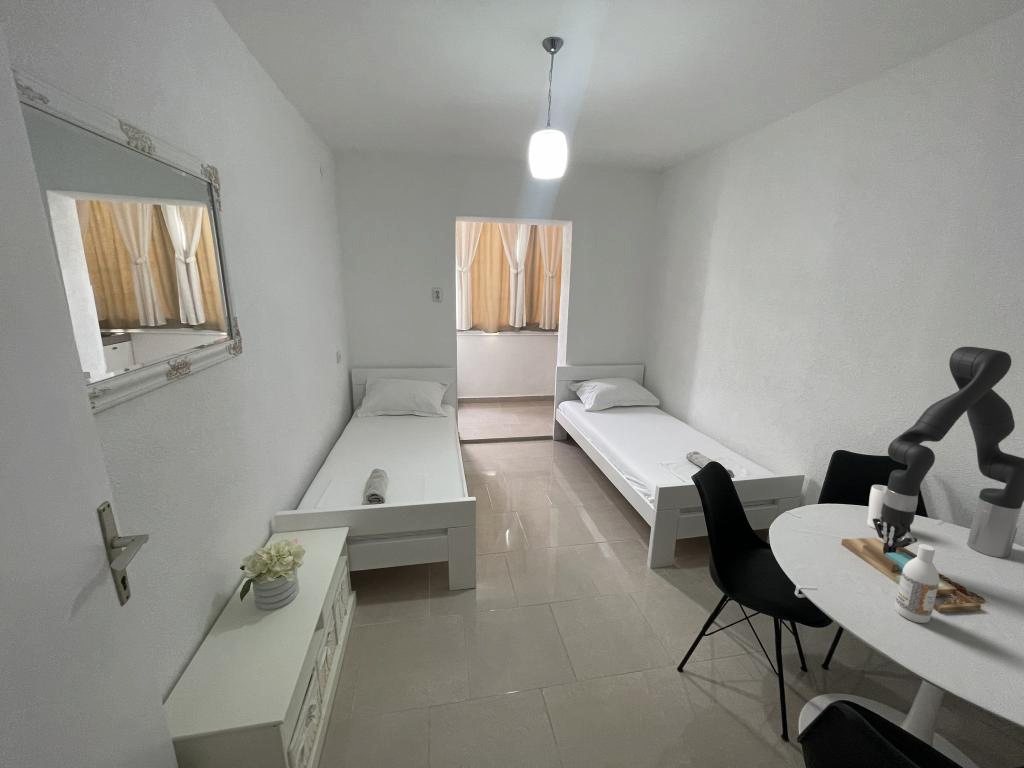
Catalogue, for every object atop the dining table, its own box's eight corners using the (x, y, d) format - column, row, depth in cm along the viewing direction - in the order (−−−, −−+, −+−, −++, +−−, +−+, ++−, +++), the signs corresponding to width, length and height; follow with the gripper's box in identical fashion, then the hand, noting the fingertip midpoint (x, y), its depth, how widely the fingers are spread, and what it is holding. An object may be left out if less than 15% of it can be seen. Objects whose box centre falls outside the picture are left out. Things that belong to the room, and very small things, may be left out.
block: (902, 560, 133) (904, 552, 132) (921, 573, 127) (923, 564, 126) (884, 561, 133) (885, 552, 132) (902, 574, 127) (904, 565, 126)
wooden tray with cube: (874, 542, 146) (876, 530, 145) (979, 610, 115) (983, 595, 114) (841, 544, 145) (843, 532, 144) (939, 612, 114) (942, 598, 113)
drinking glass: (879, 522, 159) (886, 484, 156) (893, 532, 152) (901, 493, 149) (859, 521, 160) (866, 484, 156) (872, 531, 153) (880, 492, 150)
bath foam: (916, 626, 110) (932, 557, 105) (887, 607, 116) (901, 541, 112) (936, 621, 111) (953, 553, 107) (907, 603, 118) (922, 538, 113)
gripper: (933, 515, 125) (920, 567, 128) (890, 494, 137) (880, 542, 141) (909, 516, 124) (897, 568, 128) (868, 494, 137) (859, 543, 141)
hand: (888, 554), depth 135 cm, fingers closed
